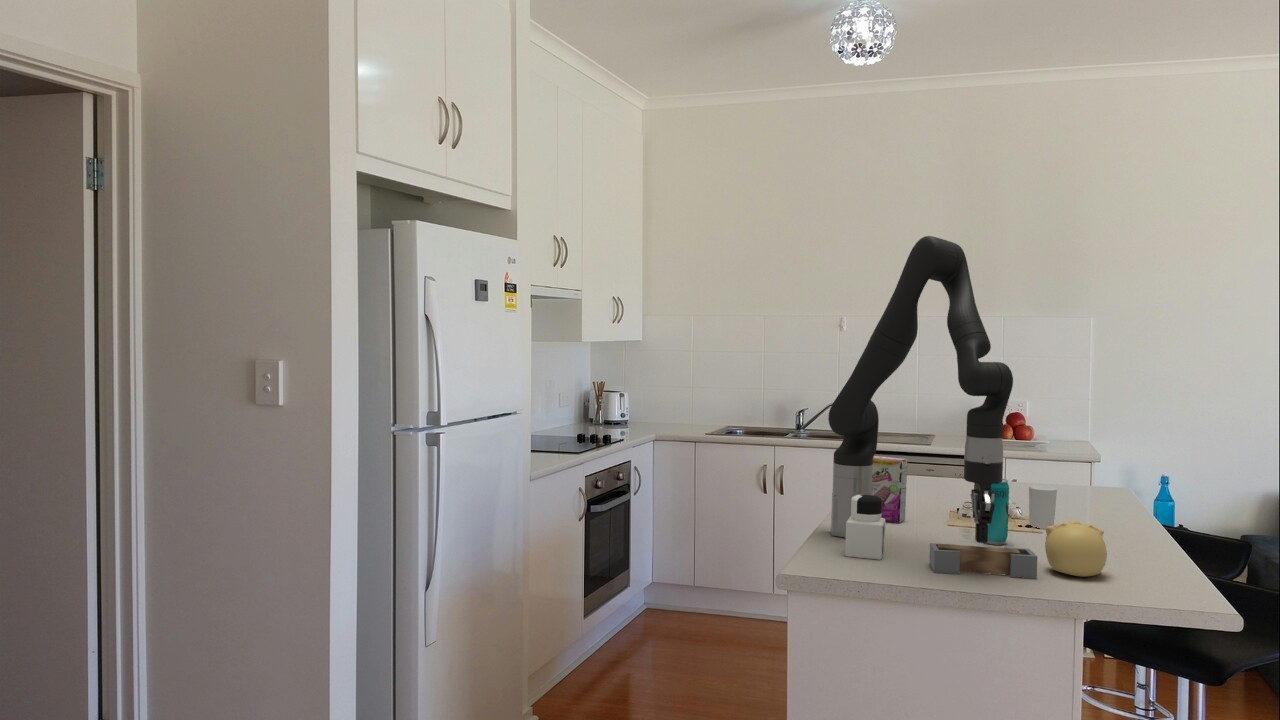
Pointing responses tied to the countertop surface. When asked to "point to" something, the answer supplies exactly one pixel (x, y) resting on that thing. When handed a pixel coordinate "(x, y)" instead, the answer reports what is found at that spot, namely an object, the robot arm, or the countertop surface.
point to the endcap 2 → (1023, 564)
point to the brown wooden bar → (982, 558)
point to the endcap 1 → (944, 560)
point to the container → (865, 528)
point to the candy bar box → (890, 486)
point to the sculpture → (1075, 548)
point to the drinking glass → (1042, 506)
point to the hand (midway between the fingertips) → (981, 542)
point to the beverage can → (999, 514)
